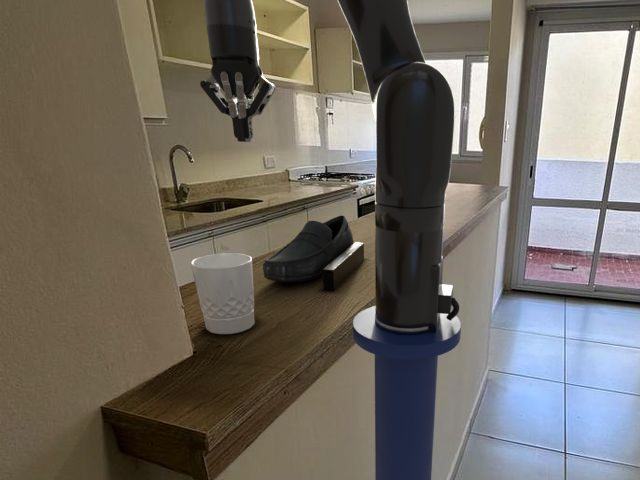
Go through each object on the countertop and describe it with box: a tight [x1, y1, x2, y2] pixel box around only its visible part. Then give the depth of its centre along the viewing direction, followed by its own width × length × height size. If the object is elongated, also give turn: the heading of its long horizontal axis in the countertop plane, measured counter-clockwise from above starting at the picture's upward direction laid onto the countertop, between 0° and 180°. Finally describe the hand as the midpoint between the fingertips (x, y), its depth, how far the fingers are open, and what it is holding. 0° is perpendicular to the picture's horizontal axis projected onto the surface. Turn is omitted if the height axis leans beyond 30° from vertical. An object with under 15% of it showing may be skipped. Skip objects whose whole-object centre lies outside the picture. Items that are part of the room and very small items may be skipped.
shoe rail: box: [322, 241, 365, 292], centre depth 91 cm, size 2×22×4 cm, turn 172°
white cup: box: [190, 252, 256, 335], centre depth 64 cm, size 8×8×10 cm
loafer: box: [262, 215, 355, 283], centre depth 91 cm, size 10×29×10 cm, turn 168°
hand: (244, 141), depth 79 cm, fingers closed
